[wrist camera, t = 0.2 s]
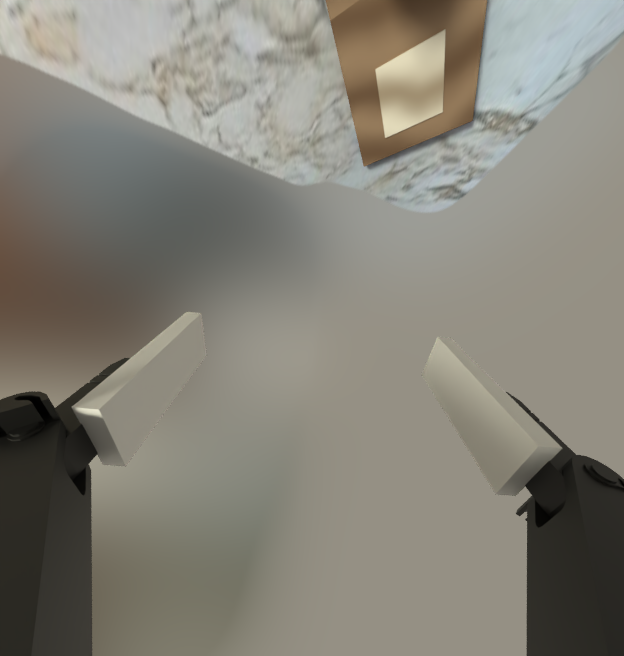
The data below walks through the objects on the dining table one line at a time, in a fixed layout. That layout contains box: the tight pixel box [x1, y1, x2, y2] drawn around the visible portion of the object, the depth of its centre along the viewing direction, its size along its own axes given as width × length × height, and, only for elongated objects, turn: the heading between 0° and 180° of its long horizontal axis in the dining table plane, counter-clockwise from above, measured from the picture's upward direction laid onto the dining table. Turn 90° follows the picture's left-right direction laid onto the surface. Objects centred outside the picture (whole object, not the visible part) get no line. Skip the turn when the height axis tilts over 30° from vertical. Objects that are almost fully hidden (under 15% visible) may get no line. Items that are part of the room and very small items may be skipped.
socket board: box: [326, 0, 487, 166], centre depth 23 cm, size 24×14×2 cm, turn 24°
